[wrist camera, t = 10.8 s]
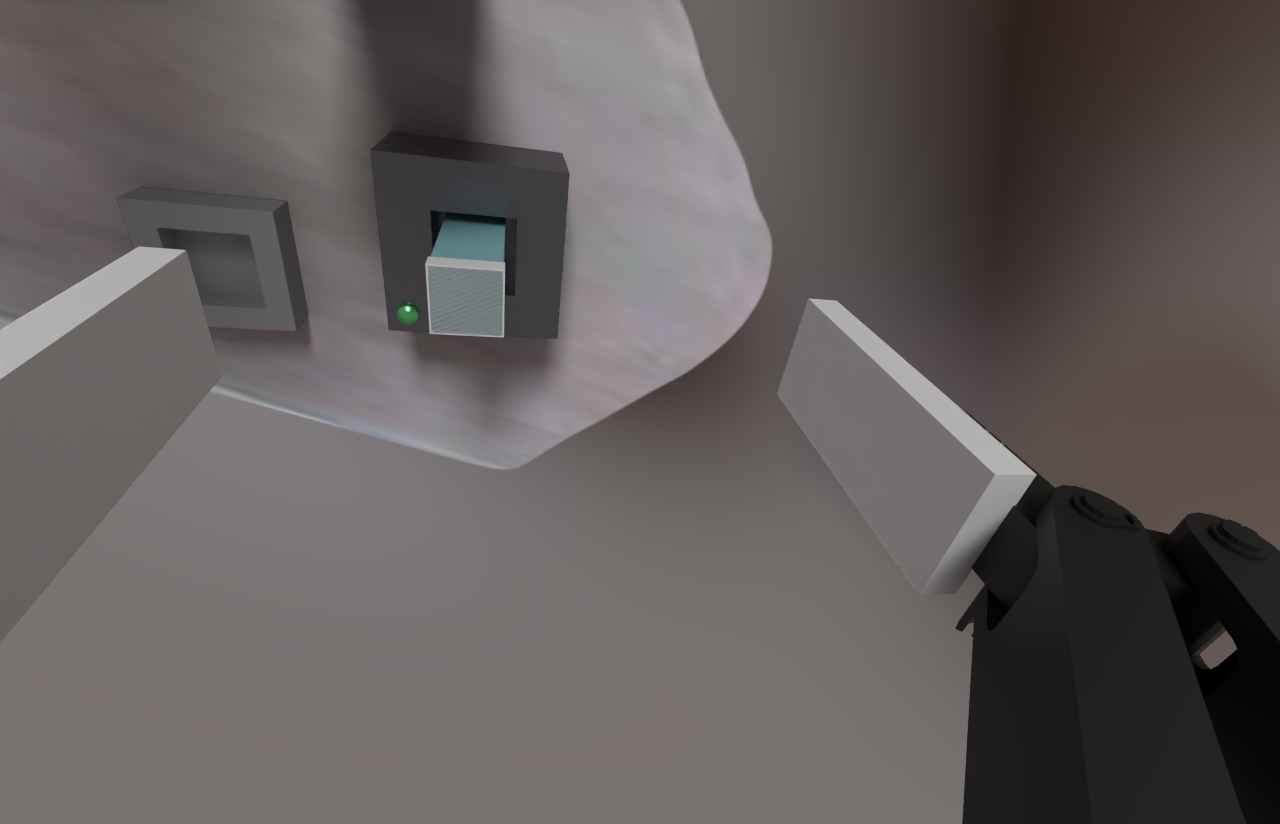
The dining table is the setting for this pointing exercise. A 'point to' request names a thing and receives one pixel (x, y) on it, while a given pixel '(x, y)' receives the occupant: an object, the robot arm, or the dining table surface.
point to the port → (481, 185)
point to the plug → (467, 276)
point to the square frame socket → (226, 253)
